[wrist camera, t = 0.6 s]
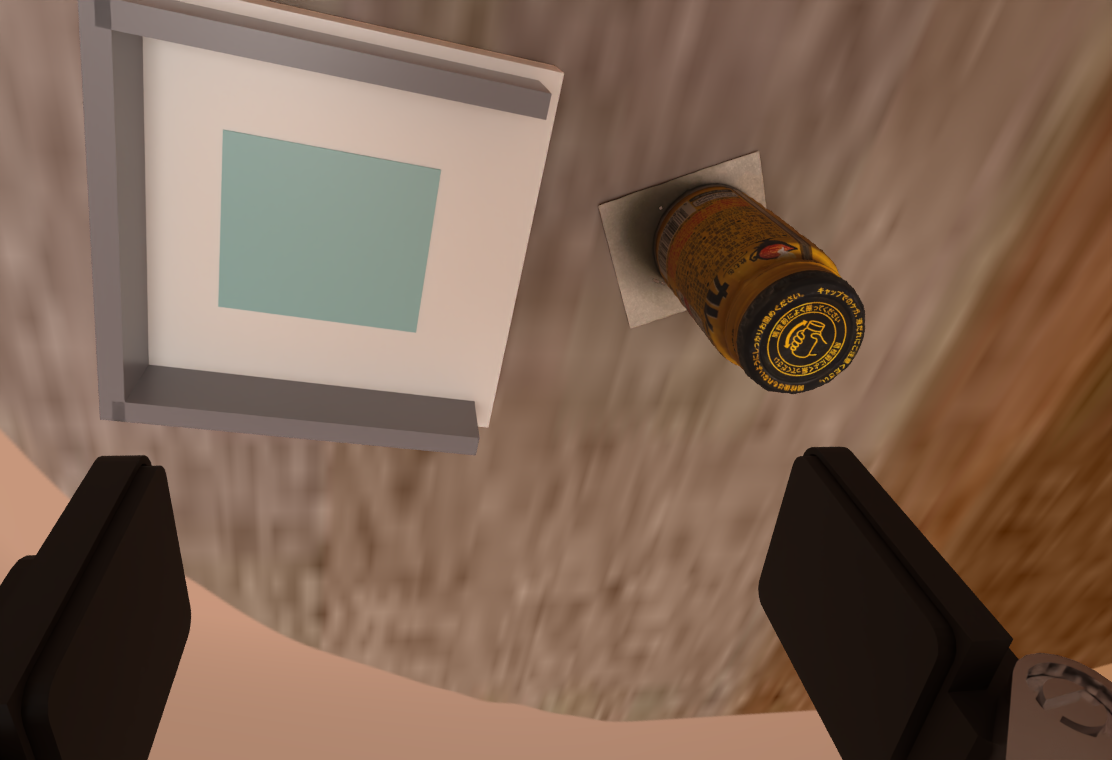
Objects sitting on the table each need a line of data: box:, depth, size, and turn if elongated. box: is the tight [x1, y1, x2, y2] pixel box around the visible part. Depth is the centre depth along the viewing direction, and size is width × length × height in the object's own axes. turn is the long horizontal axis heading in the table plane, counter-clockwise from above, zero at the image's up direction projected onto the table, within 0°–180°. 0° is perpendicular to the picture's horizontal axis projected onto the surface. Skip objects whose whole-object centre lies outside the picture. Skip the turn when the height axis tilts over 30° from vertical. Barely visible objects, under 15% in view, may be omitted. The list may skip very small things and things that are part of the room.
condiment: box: [599, 151, 865, 394], centre depth 35 cm, size 7×8×12 cm
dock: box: [78, 0, 564, 455], centre depth 34 cm, size 18×18×6 cm
